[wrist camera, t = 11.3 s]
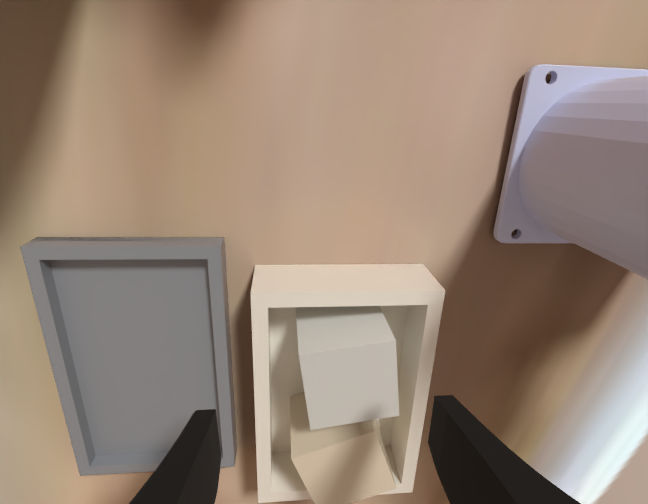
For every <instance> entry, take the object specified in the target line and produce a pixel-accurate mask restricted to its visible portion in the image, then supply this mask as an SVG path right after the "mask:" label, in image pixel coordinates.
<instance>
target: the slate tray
mask: <svg viewBox="0 0 648 504" xmlns="http://www.w3.org/2000/svg"><path fill="white" fill-rule="evenodd" d="M20 248H21V252H22V255H23V259H24V263H25V267H26V271H27V275H28V278H29V282H30V286H31V290H32V294H33V298H34V301H35V305H36V309H37V313H38V317H39V320H40V324H41V328H42V332H43V336H44V340H45V343H46V347H47V351H48V355H49V359H50V363H51V366H52V370H53V374H54V378H55V382H56V386H57V389H58V393H59V397H60V401H61V405H62V408H63V412H64V416H65V420H66V424H67V428H68V431H69V435H70V439H71V443H72V447H73V451H74V454H75V458H76V462H77V466H78V470H79V474H80V476H84V475H101V474H118V473H134V472H151V471H155V470H156V469H157V467H158V466H159V464H160V463H161V462H162V460H163V459H164V457H165V456H166V455H167V453H168V452H169V450H170V449H171V447H172V446H173V444H174V443H175V441H176V440H177V438H178V437H179V435H180V434H181V432H182V431H183V429H184V427H185V426H186V424H187V423H188V421H189V419H190V418H191V416H192V414H193V413H194V412H195V411H196V410H209V409H216V415H217V423H218V432H219V440H220V449H221V465H220V467H235V460H236V452H237V442H236V425H235V408H234V392H233V375H232V359H231V342H230V325H229V309H228V292H227V275H226V259H225V242H224V238H150V237H37V238H35V239H33V240H31V241H30V242H28V243H26V244H24V245H22V246H21V247H20Z"/></svg>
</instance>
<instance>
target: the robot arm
mask: <svg viewBox="0 0 648 504" xmlns="http://www.w3.org/2000/svg"><path fill="white" fill-rule="evenodd" d="M549 72H550V74H551V80H550V82H549V83H548V84H547V83H546V81H545V77H546V75H547V74H548V73H549ZM515 229H517V233H516V234H515V235H514V236H512V237H511V233H512V231H514V230H515ZM493 236H494V238H495V239H496V240H497V241H499V242H500V243H574V244H576V245H578V246H580V247H582V248H584V249H586V250H588V251H590V252H592V253H594V254H597V255H599V256H601V257H603V258H605V259H607V260H609V261H611V262H613V263H615V264H617V265H619V266H621V267H623V268H625V269H627V270H629V271H631V272H633V273H635V274H637V275H639V276H642V277H644V278H646V279H648V70H646V69H626V68H607V67H587V66H567V65H548V64H540V65H534V66H532V67H531V68H529V70H528V71H527V72H526V74H525V77H524V82H523V87H522V92H521V97H520V102H519V107H518V112H517V117H516V122H515V127H514V132H513V137H512V142H511V147H510V152H509V157H508V162H507V167H506V172H505V177H504V181H503V186H502V191H501V196H500V201H499V206H498V211H497V216H496V221H495V226H494V231H493ZM428 444H429V447H430V450H431V454H432V457H433V461H434V464H435V467H436V470H437V473H438V476H439V478H440V481H441V483H442V485H443V488H444V490H445V492H446V495H447V497H448V499H449V502H450V504H580V503H579V502H578V501H576V500H575V499H573V498H572V497H570V496H569V495H567V494H566V493H565V492H563V491H562V490H561V489H559V488H558V487H556V486H555V485H554V484H552V483H551V482H550V481H548V480H547V479H546V478H544V477H543V476H542V475H540V474H539V473H538V472H537V471H535V470H534V469H533V468H532V467H530V466H529V465H528V464H527V463H526V462H524V461H523V460H522V459H521V458H520V457H518V456H517V455H516V454H515V453H514V452H512V451H511V450H510V449H509V448H508V447H507V446H506V445H504V444H503V443H502V442H501V441H500V440H499V439H498V438H497V437H496V436H495V435H493V434H492V433H491V432H490V431H489V430H488V429H487V428H486V427H485V426H484V425H483V424H482V423H481V422H480V421H479V420H478V419H476V418H475V417H474V416H473V415H472V414H471V413H470V412H469V411H468V410H467V409H466V408H465V407H464V406H463V405H462V404H461V403H460V402H459V401H458V400H457V399H456V398H455V397H454V396H453V395H447V396H435V397H434V404H433V411H432V419H431V426H430V433H429V440H428ZM220 465H221V449H220V440H219V432H218V423H217V415H216V409H209V410H196V411H195V412H194V413H193V414H192V416H191V418H190V419H189V421H188V423H187V424H186V426H185V427H184V429H183V431H182V432H181V434H180V435H179V437H178V438H177V440H176V441H175V443H174V444H173V446H172V447H171V449H170V450H169V452H168V453H167V455H166V456H165V457H164V459H163V460H162V462H161V463H160V464H159V466H158V467H157V469H156V470H155V471H154V473H153V474H152V475H151V477H150V478H149V479H148V480H147V482H146V483H145V484H144V486H143V487H142V488H141V489H140V491H139V492H138V493H137V495H136V496H135V497H134V498H133V500H132V501H131V502H130V503H129V504H214V503H215V499H216V494H217V489H218V481H219V473H220Z"/></svg>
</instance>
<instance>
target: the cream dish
mask: <svg viewBox="0 0 648 504" xmlns="http://www.w3.org/2000/svg"><path fill="white" fill-rule="evenodd" d="M444 296H445V289H444V288H443V287H442V286H441V285H440V284H439V282H438V281H437V280H436V279H435V278H434V277H433V275H432V274H431V273H430V272H429V271H428V270H427V268H426V267H425V266H424V265H423V264H315V265H255V269H254V275H253V281H252V287H251V320H252V347H253V375H254V402H255V429H256V457H257V484H258V503H265V502H280V501H294V500H309V499H312V498H311V496H310V494H309V492H308V490H307V488H306V487H305V485H304V483H303V481H302V479H301V477H300V475H299V473H298V471H297V469H296V467H295V465H294V463H293V461H292V459H291V426H290V397H291V396H294V395H297V394H300V393H303V392H304V386H303V379H302V373H301V367H300V360H299V352H298V336H297V320H296V307H339V306H380V308H381V310H382V312H383V314H384V316H385V318H386V321H387V323H388V325H389V327H390V329H391V331H392V333H393V335H394V338H395V340H396V353H397V375H398V398H399V416H395V417H388V418H382V419H376V421H377V424H378V427H379V430H380V433H381V437H382V440H383V444H384V447H385V450H386V454H387V457H388V461H389V464H390V467H391V471H392V474H393V478H394V481H395V484H396V489H393V490H390V491H387V492H384V493H381V494H395V493H410V492H413V486H414V479H415V473H416V467H417V461H418V455H419V449H420V443H421V437H422V431H423V425H424V418H425V412H426V406H427V400H428V394H429V388H430V382H431V376H432V370H433V363H434V357H435V351H436V345H437V339H438V333H439V327H440V321H441V315H442V309H443V302H444ZM381 494H378V495H381Z"/></svg>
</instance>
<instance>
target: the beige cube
mask: <svg viewBox="0 0 648 504" xmlns="http://www.w3.org/2000/svg"><path fill="white" fill-rule="evenodd" d="M290 426H291V459H292V461H293V463H294V465H295V467H296V469H297V471H298V473H299V475H300V477H301V479H302V481H303V483H304V485H305V487H306V488H307V490H308V492H309V494H310V496H311V498H312V500H313V502H314V504H351V503H354V502H357V501H360V500H363V499H366V498H369V497H372V496H375V495H378V494H381V493H384V492H387V491H390V490H393V489H396V484H395V481H394V478H393V474H392V471H391V467H390V464H389V461H388V457H387V454H386V450H385V447H384V444H383V440H382V437H381V433H380V430H379V427H378V424H377V421H376V420H370V421H363V422H357V423H351V424H345V425H338V426H332V427H326V428H320V429H314V430H310V424H309V417H308V411H307V405H306V398H305V392H303V393H300V394H297V395H294V396H291V397H290Z"/></svg>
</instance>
